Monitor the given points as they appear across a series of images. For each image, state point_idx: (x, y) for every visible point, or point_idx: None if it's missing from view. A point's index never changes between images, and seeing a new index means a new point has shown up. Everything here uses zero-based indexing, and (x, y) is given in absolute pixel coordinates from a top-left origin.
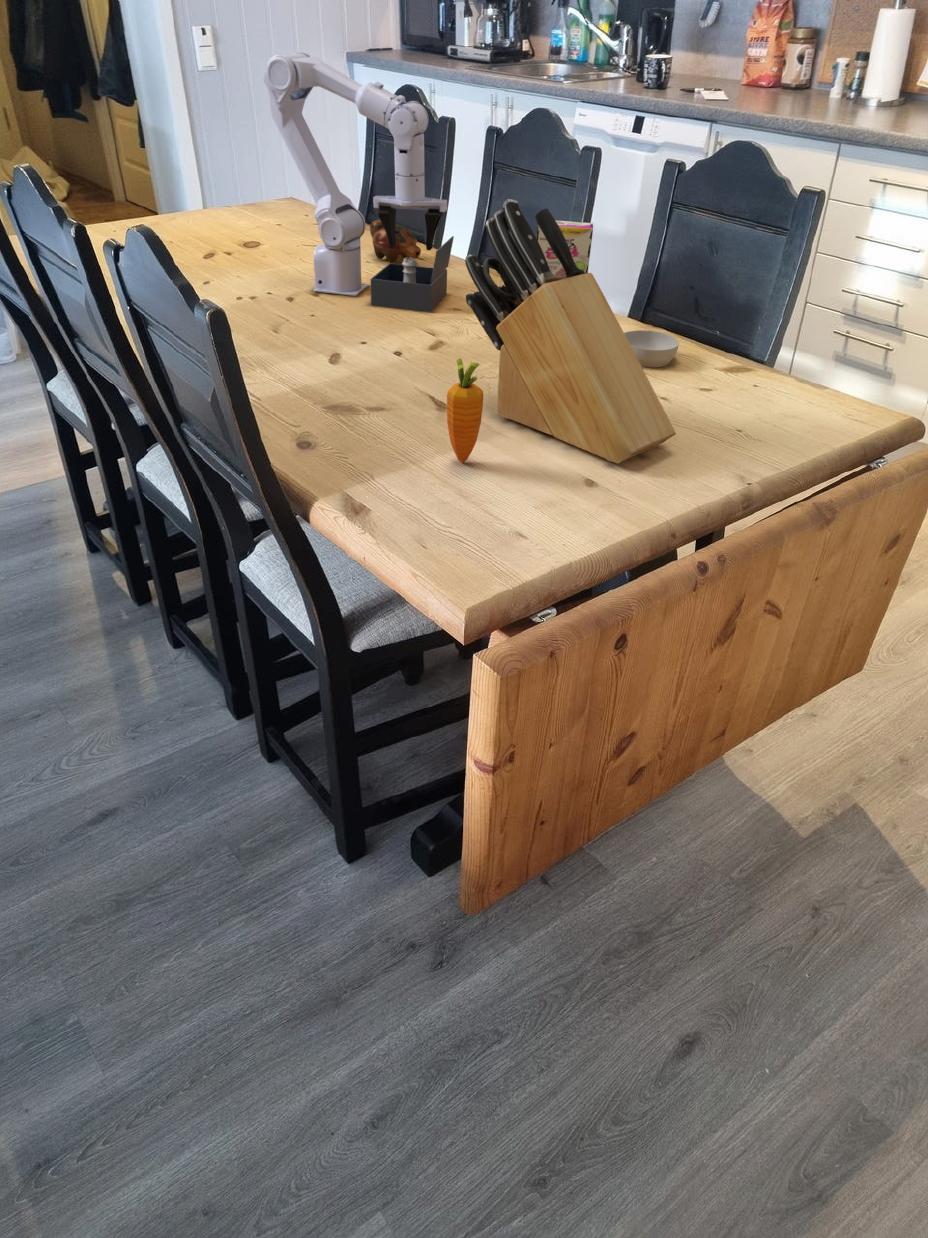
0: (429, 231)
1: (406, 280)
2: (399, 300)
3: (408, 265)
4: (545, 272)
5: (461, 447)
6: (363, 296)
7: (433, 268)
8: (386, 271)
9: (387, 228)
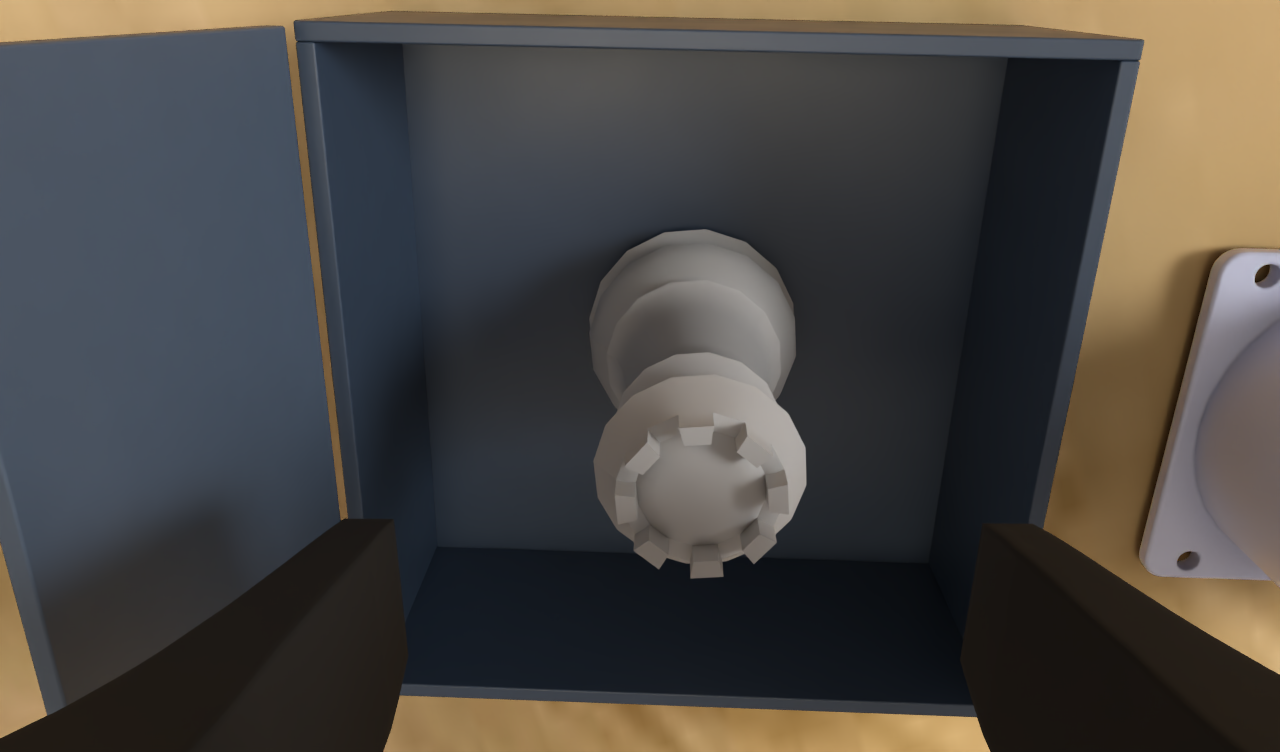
0: (173, 681)
1: (715, 328)
2: (720, 21)
3: (691, 379)
4: None
5: None
6: (1140, 290)
7: (156, 32)
8: None
9: (1245, 691)
